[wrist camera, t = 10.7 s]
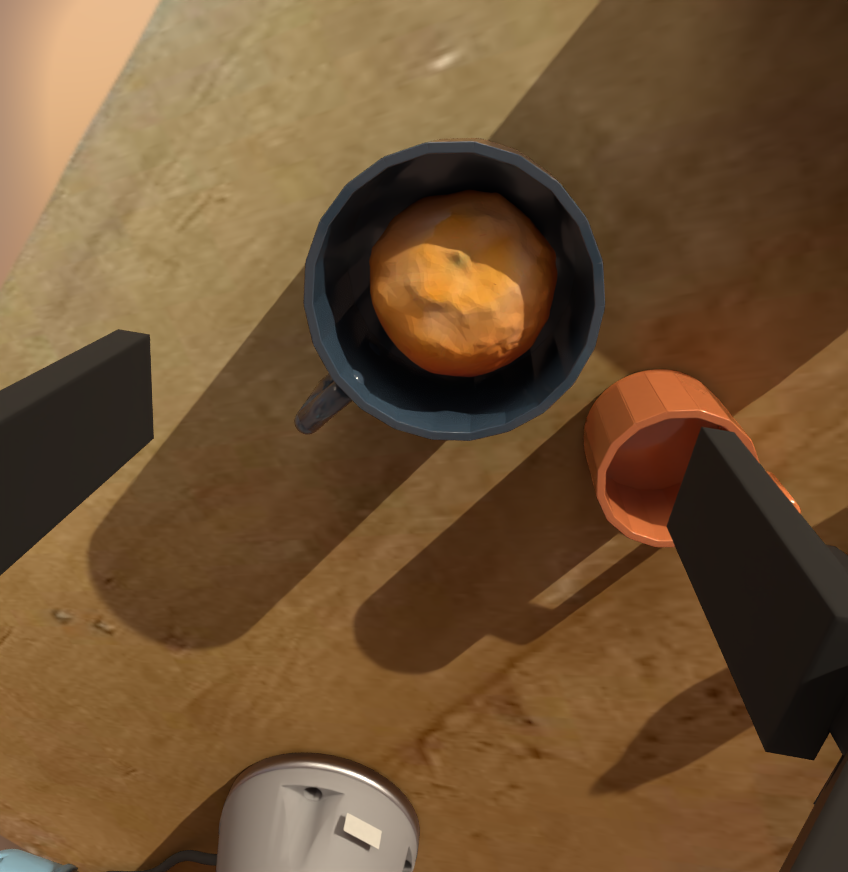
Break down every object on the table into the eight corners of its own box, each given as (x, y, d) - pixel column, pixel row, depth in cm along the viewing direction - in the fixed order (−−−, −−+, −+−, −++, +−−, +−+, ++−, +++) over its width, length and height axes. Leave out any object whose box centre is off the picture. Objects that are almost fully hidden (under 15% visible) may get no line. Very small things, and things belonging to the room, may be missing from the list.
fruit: (373, 385, 34) (348, 348, 26) (392, 236, 34) (372, 156, 27) (532, 401, 33) (555, 369, 25) (547, 250, 34) (574, 173, 26)
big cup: (474, 76, 29) (466, 61, 22) (631, 281, 32) (667, 323, 25) (249, 301, 35) (188, 344, 28) (402, 459, 38) (381, 531, 31)
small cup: (562, 466, 37) (572, 519, 32) (618, 350, 34) (639, 388, 29) (731, 524, 37) (767, 585, 32) (802, 414, 34) (853, 463, 29)
